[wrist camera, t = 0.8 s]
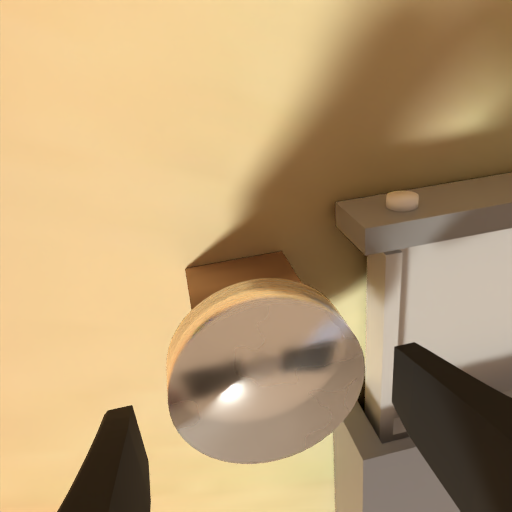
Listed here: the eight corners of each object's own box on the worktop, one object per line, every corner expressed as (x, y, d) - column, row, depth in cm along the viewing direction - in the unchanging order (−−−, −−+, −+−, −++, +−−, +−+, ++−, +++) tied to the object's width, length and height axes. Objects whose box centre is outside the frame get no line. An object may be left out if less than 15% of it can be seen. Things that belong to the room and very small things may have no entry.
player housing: (588, 339, 22) (655, 385, 19) (546, 489, 27) (594, 544, 24) (332, 399, 20) (363, 460, 17) (336, 548, 25) (361, 616, 22)
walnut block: (281, 251, 17) (312, 300, 13) (287, 330, 18) (316, 390, 15) (185, 268, 16) (194, 323, 13) (200, 348, 18) (211, 414, 15)
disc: (345, 261, 13) (365, 285, 12) (347, 407, 16) (363, 438, 14) (149, 299, 12) (148, 328, 11) (183, 445, 15) (186, 482, 14)
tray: (648, 140, 17) (720, 155, 15) (583, 368, 22) (630, 405, 20) (334, 192, 16) (365, 217, 13) (339, 428, 21) (362, 474, 18)
